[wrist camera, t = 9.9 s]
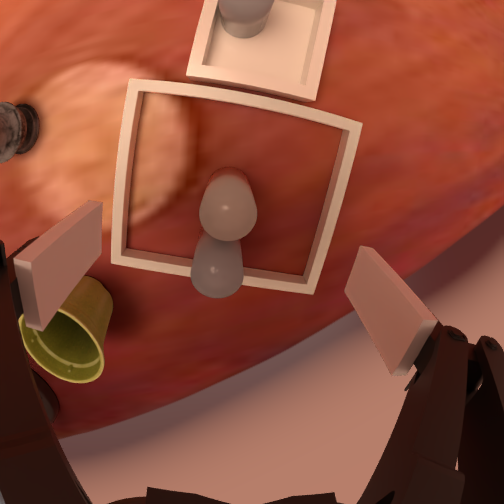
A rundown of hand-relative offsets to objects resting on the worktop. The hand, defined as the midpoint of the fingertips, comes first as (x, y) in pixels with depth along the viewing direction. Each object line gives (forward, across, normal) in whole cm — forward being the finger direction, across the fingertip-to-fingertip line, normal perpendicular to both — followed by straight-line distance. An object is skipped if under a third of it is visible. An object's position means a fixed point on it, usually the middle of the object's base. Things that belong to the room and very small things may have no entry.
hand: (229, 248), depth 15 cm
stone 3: (+14, 0, +5) cm, 15 cm away
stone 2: (+14, 0, 0) cm, 14 cm away
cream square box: (+14, 0, -14) cm, 20 cm away
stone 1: (+13, +2, -15) cm, 20 cm away
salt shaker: (+14, +23, -3) cm, 27 cm away
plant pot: (+14, +14, +15) cm, 24 cm away
